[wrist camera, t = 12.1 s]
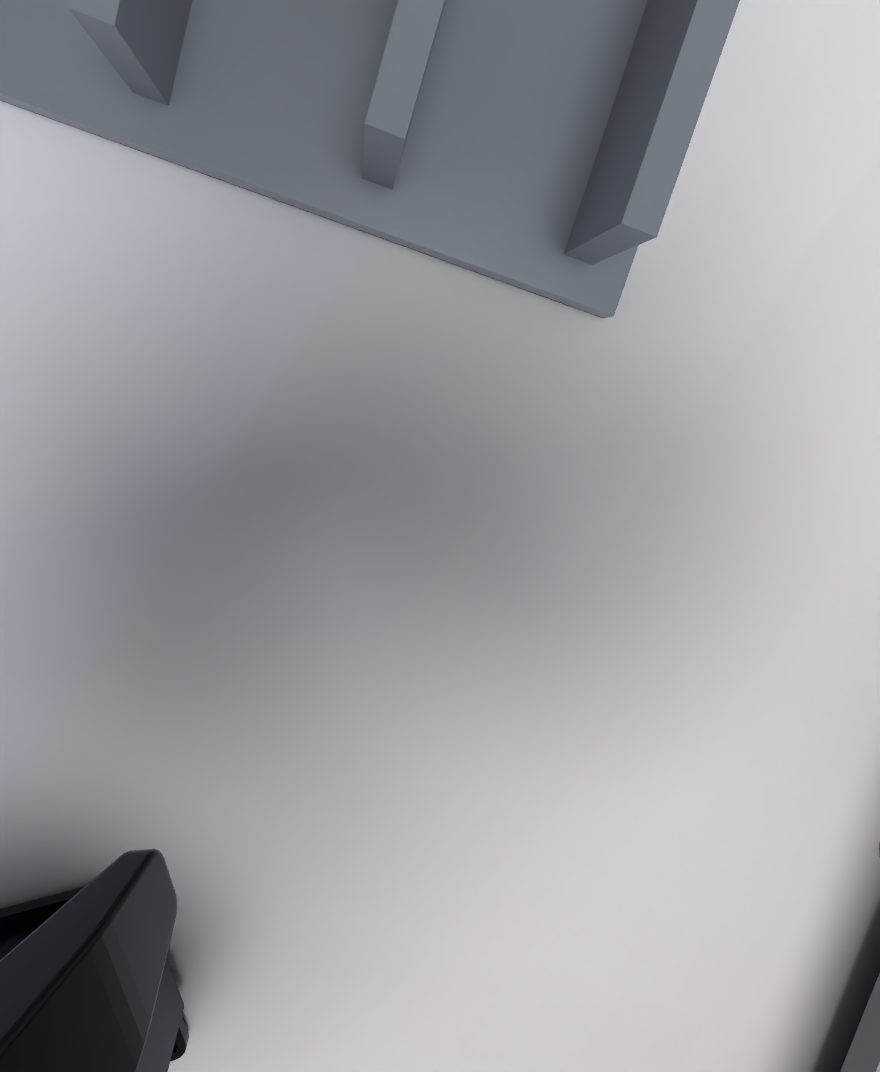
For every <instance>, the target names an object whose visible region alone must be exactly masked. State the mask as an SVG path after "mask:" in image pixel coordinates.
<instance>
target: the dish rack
mask: <svg viewBox="0 0 880 1072" xmlns="http://www.w3.org/2000/svg"><path fill="white" fill-rule="evenodd" d="M739 1H740V0H0V100H1V101H4V102H7V103H10V104H12V105H15V106H18V107H21V108H23V109H26V110H29V111H32V112H34V113H37V114H40V115H43V116H46V117H48V118H51V119H54V120H57V121H59V122H62V123H65V124H68V125H70V126H73V127H76V128H79V129H82V130H84V131H87V132H90V133H93V134H95V135H98V136H101V137H104V138H106V139H109V140H112V141H115V142H118V143H120V144H123V145H126V146H129V147H131V148H134V149H137V150H140V151H142V152H145V153H148V154H151V155H154V156H156V157H159V158H162V159H165V160H167V161H170V162H173V163H176V164H178V165H181V166H184V167H187V168H190V169H192V170H195V171H198V172H201V173H203V174H206V175H209V176H212V177H214V178H217V179H220V180H223V181H225V182H228V183H231V184H234V185H237V186H239V187H242V188H245V189H248V190H250V191H253V192H256V193H259V194H261V195H264V196H267V197H270V198H273V199H275V200H278V201H281V202H284V203H286V204H289V205H292V206H295V207H297V208H300V209H303V210H306V211H309V212H311V213H314V214H317V215H320V216H322V217H325V218H328V219H331V220H333V221H336V222H339V223H342V224H345V225H347V226H350V227H353V228H356V229H358V230H361V231H364V232H367V233H369V234H372V235H375V236H378V237H381V238H383V239H386V240H389V241H392V242H394V243H397V244H400V245H403V246H405V247H408V248H411V249H414V250H417V251H419V252H422V253H425V254H428V255H430V256H433V257H436V258H439V259H441V260H444V261H447V262H450V263H453V264H455V265H458V266H461V267H464V268H466V269H469V270H472V271H475V272H477V273H480V274H483V275H486V276H489V277H491V278H494V279H497V280H500V281H502V282H505V283H508V284H511V285H513V286H516V287H519V288H522V289H525V290H527V291H530V292H533V293H536V294H538V295H541V296H544V297H547V298H549V299H552V300H555V301H558V302H560V303H563V304H566V305H569V306H572V307H574V308H577V309H580V310H583V311H585V312H588V313H591V314H594V315H596V316H599V317H602V318H605V317H610V316H614V313H615V311H616V308H617V305H618V302H619V299H620V296H621V293H622V290H623V288H624V285H625V282H626V279H627V276H628V273H629V270H630V268H631V265H632V262H633V259H634V256H635V253H636V250H637V247H638V245H639V244H641V243H644V242H646V241H648V240H651V239H653V238H655V237H657V234H658V231H659V228H660V226H661V223H662V220H663V217H664V214H665V211H666V208H667V206H668V203H669V200H670V197H671V194H672V191H673V189H674V186H675V183H676V180H677V177H678V174H679V172H680V169H681V166H682V163H683V160H684V157H685V154H686V152H687V149H688V146H689V143H690V140H691V137H692V135H693V132H694V129H695V126H696V123H697V120H698V117H699V115H700V112H701V109H702V106H703V103H704V100H705V98H706V95H707V92H708V89H709V86H710V83H711V81H712V78H713V75H714V72H715V69H716V66H717V63H718V61H719V58H720V55H721V52H722V49H723V46H724V44H725V41H726V38H727V35H728V32H729V29H730V27H731V24H732V21H733V18H734V15H735V12H736V9H737V7H738V4H739Z"/></svg>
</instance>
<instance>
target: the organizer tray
mask: <svg viewBox="0 0 880 1072" xmlns="http://www.w3.org/2000/svg"><path fill="white" fill-rule="evenodd" d="M840 1072H880V973H879V976H878V978H877V981H876V983H875V986H874V988H873V991H872V993H871V996H870V998H869V1001H868V1003H867V1006H866V1008H865V1011H864V1013H863V1016H862V1018H861V1021H860V1023H859V1026H858V1028H857V1031H856V1034H855V1036H854V1039H853V1041H852V1044H851V1046H850V1049H849V1051H848V1054H847V1056H846V1059H845V1061H844V1064H843V1066H842V1069H841V1071H840Z"/></svg>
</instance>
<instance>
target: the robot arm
mask: <svg viewBox="0 0 880 1072" xmlns="http://www.w3.org/2000/svg"><path fill="white" fill-rule="evenodd" d="M879 855H880V843H879ZM176 912H177V898H176V893H175V890H174V887H173V884H172V881H171V878H170V875H169V872H168V869H167V866H166V863H165V860H164V857H163V855H162V853H161V852H160V851H158V850H155V849H147V850H133V851H128V852H126V853H124V854H123V855H121V856H120V857H119V858H118V859H116V860H115V861H114V862H113V863H112V864H111V865H109V866H108V867H107V868H106V869H105V870H104V871H103V872H101V873H100V874H99V875H98V876H97V877H96V878H95V879H93V880H92V881H91V882H90V883H89V884H88V885H86V886H85V887H82V888H78V889H74V890H71V891H67V892H63V893H60V894H56V895H52V896H48V897H45V898H41V899H37V900H33V901H30V902H26V903H22V904H18V905H15V906H11V907H7V908H3V909H0V1072H167V1071H168V1067H169V1063H170V1061H173V1060H176V1059H178V1058H180V1057H181V1056H182V1055H183V1054H184V1052H185V1050H186V1047H187V1042H188V1038H189V1034H188V1030H187V1027H186V1025H185V1022H184V1019H183V1017H182V1013H183V1009H184V1003H183V1000H182V998H181V995H180V992H179V990H178V987H177V984H176V982H175V979H174V976H173V974H172V971H171V969H170V966H169V963H168V961H167V958H166V956H167V952H168V948H169V943H170V939H171V935H172V931H173V927H174V922H175V918H176Z"/></svg>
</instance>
